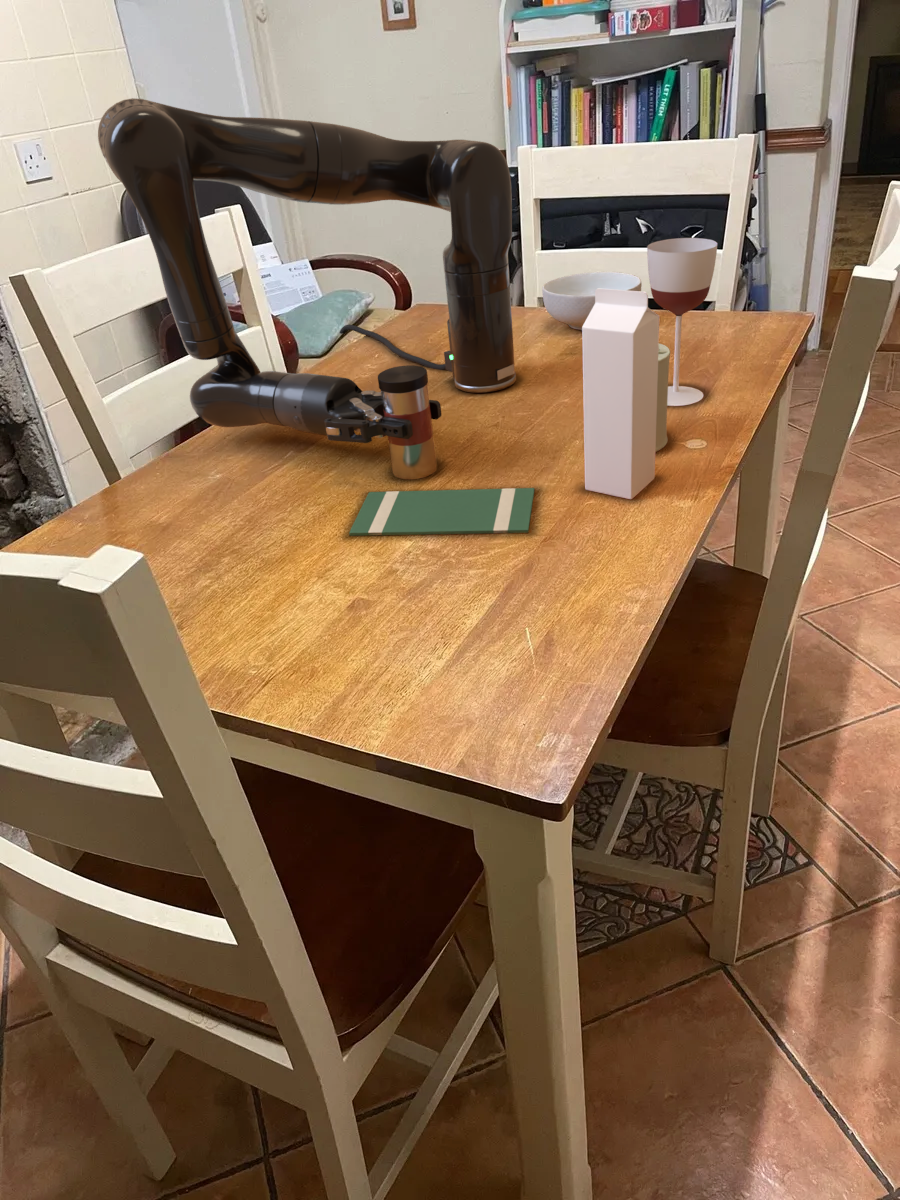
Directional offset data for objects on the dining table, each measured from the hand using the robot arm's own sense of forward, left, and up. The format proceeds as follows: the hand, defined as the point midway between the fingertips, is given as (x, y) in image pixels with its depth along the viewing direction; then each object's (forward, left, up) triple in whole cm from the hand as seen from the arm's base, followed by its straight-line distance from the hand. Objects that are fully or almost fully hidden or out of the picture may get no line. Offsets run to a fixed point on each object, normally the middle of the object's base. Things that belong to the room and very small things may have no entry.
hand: (425, 419), depth 105 cm
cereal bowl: (-31, +53, -7) cm, 62 cm away
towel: (+10, -5, -7) cm, 13 cm away
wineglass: (+4, +38, -7) cm, 39 cm away
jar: (-2, -1, -7) cm, 7 cm away
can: (+11, +23, -7) cm, 27 cm away
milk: (+19, +14, -7) cm, 25 cm away
